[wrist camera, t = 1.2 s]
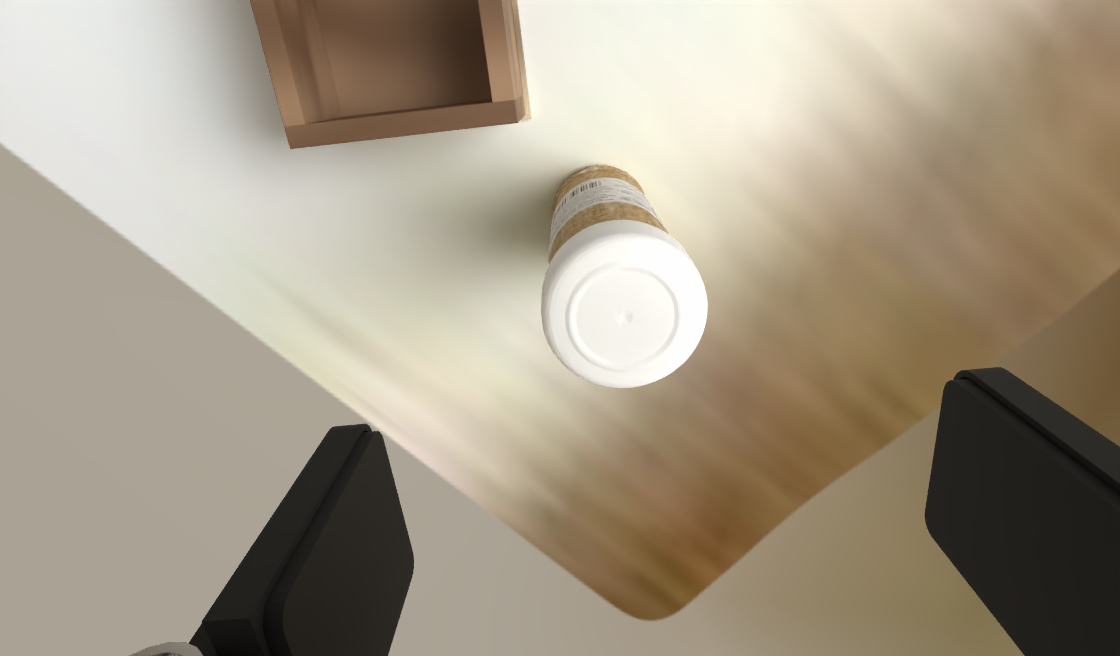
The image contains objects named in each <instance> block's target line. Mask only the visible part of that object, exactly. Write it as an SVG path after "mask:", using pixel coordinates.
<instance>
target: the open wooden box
mask: <svg viewBox="0 0 1120 656" xmlns="http://www.w3.org/2000/svg"><path fill="white" fill-rule="evenodd" d="M250 2H251V6H252V9H253V13H254V17H255V20H256V24H257V28H258V31H259V35H260V39H261V42H262V46H263V50H264V53H265V57H266V61H267V65H268V68H269V72H270V76H271V79H272V83H273V87H274V90H275V94H276V98H277V101H278V105H279V109H280V112H281V116H282V120H283V123H284V127H285V131H286V134H287V138H288V142H289V145H290V149H294V148H303V147H312V146H320V145H329V144H338V143H347V142H355V141H364V140H373V139H381V138H390V137H399V136H407V135H416V134H425V133H434V132H442V131H451V130H460V129H468V128H477V127H486V126H495V125H503V124H512V123H518V122H519V121H520V120H525V119H531V113H530V104H529V96H528V88H527V80H526V71H525V63H524V55H523V47H522V38H521V30H520V22H519V14H518V5H517V0H250Z"/></svg>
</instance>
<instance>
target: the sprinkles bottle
mask: <svg viewBox="0 0 1120 656" xmlns="http://www.w3.org/2000/svg"><path fill="white" fill-rule="evenodd" d="M548 263H549V267H548V269H547V272H546V274H545V278H544V282H543V288H542V303H541V315H542V325H543V330H544V334H545V336H546V339H547V341H548V344H549V346H550V347H551V349H552V351H553V353H554V354H555V355H556V357H557V358H558V359H559V360H560V362H561V363H562V364H563V365H564V366H565V367H566V368H567V369H569V370H570V371H571V372H573V373H574V374H575V375H577V376H579V377H581V378H582V379H585V380H587V381H589V382H591V383H594V384H597V385H601V386H606V387H613V388H631V387H638V386H642V385H646V384H649V383H652V382H655V381H657V380H659V379H661V378H664V377H665V376H667V375H669V374H670V373H672V372H673V371H674V370H676V369H677V368H678V367H679V366H681V365H682V364H683V363H684V362H685V361H686V360H687V359H688V357H689V356H690V355H691V354H692V352H693V351H694V349H695V348H696V346H697V344H698V343H699V341H700V339H701V336H702V334H703V331H704V327H705V324H706V318H707V296H706V291H705V287H704V284H703V281H702V279H701V276H700V274H699V272H698V270H697V268H696V267H695V265H694V263H693V262H692V260H691V258H690V257H689V255H688V254H687V252H686V251H685V250H684V248H683V247H682V246H681V245H680V244H679V243H678V242H677V241H676V240H675V239H674V238H673V237H671V236H670V235H669V233H668V232H667V230H666V228H665V227H664V225H663V224H662V222H661V221H660V219H659V217H658V216H657V214H656V213H655V211H654V209H653V208H652V206H651V205H650V203H649V201H648V200H647V198H646V197H645V196H644V193H643V190H642V188H641V186H640V185H639V184H638V182H637V181H636V180H635V179H634V178H633V177H632V176H631V175H629V174H628V173H627V172H625V171H622V170H620V169H618V168H615V167H611V166H591V167H587V168H585V169H583V170H580V171H578V172H577V173H575V174H574V175H572V176H570V177H569V178H568V179H567V180H566V181H565V182H564V184H563V185H562V186H561V187H560V189H559V191H558V192H557V194H556V198H555V201H554V204H553V206H552V225H551V234H550V243H549V254H548Z"/></svg>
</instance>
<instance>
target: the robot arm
mask: <svg viewBox="0 0 1120 656" xmlns="http://www.w3.org/2000/svg"><path fill="white" fill-rule="evenodd" d="M925 522H926V525H927V528H928V530H929V533H930V534H931V536H932V538H933V539H934V540H935V541H936V543H937V544H938V545H939V547H940V548H941V549H942V551H943V552H944V553H945V554H946V556H947V557H948V558H949V559H950V561H951V562H952V563H953V565H954V566H955V567H956V568H957V570H958V571H959V572H960V574H961V575H962V576H963V577H964V578H965V580H966V581H967V582H968V584H969V585H970V586H971V588H972V589H973V590H974V591H975V592H976V594H977V595H978V597H979V598H980V599H981V600H982V602H983V603H984V604H985V605H986V607H987V608H988V609H989V611H990V612H991V613H992V614H993V616H994V617H995V618H996V619H997V621H998V622H999V623H1000V625H1001V626H1002V627H1003V628H1004V630H1005V631H1006V632H1007V634H1008V635H1009V636H1010V637H1011V639H1012V640H1013V641H1014V643H1015V644H1016V645H1017V646H1018V648H1019V649H1020V650H1021V651H1022V653H1023V654H1024V655H1025V656H1120V447H1119V446H1118V445H1116V444H1115V443H1113V442H1112V441H1110V440H1109V439H1107V438H1106V437H1104V436H1103V435H1101V434H1100V433H1099V432H1097V431H1095V430H1094V429H1093V428H1091V427H1090V426H1088V425H1087V424H1085V423H1084V422H1082V421H1081V420H1079V419H1078V418H1076V417H1075V416H1074V415H1072V414H1070V413H1069V412H1067V411H1066V410H1065V409H1063V408H1062V407H1060V406H1059V405H1057V404H1056V403H1054V402H1053V401H1051V400H1050V399H1049V398H1047V397H1046V396H1044V395H1043V394H1041V393H1039V392H1038V391H1037V390H1035V389H1034V388H1032V387H1031V386H1029V385H1028V384H1026V383H1025V382H1024V381H1022V380H1021V379H1019V378H1017V377H1016V376H1014V375H1013V374H1012V373H1010V372H1009V371H1007V370H1005V369H1003V368H1001V367H995V368H984V369H972V370H961V371H960V372H958V373H957V374H956V376H955V377H954V380H950V381H948V382H947V383H946V385H945V387H944V390H943V397H942V403H941V410H940V417H939V423H938V430H937V437H936V443H935V449H934V456H933V463H932V469H931V475H930V482H929V489H928V495H927V502H926V508H925ZM413 569H414V556H413V551H412V547H411V543H410V539H409V535H408V531H407V528H406V524H405V520H404V516H403V512H402V508H401V505H400V501H399V497H398V493H397V489H396V486H395V482H394V478H393V474H392V470H391V466H390V463H389V459H388V455H387V451H386V447H385V443H384V440H383V437H382V435H381V433H380V432H379V431H374V432H372V430H371V428H370V427H369V425H367V424H357V425H347V426H335V427H332V428H331V429H330V430H329V431H328V433H327V434H326V436H325V437H324V439H323V440H322V442H321V443H320V445H319V446H318V448H317V449H316V451H315V452H314V454H313V455H312V457H311V458H310V460H309V461H308V463H307V464H306V466H305V467H304V469H303V470H302V472H301V473H300V475H299V476H298V478H297V479H296V481H295V482H294V484H293V485H292V487H291V489H290V490H289V491H288V493H287V494H286V496H285V497H284V499H283V500H282V502H281V503H280V505H279V506H278V508H277V509H276V511H275V512H274V514H273V515H272V517H271V518H270V520H269V521H268V523H267V524H266V526H265V527H264V529H263V530H262V532H261V533H260V535H259V536H258V538H257V539H256V541H255V542H254V544H253V545H252V547H251V548H250V550H249V551H248V553H247V554H246V556H245V557H244V559H243V560H242V562H241V563H240V565H239V566H238V568H237V569H236V571H235V572H234V574H233V575H232V577H231V578H230V580H229V581H228V583H227V584H226V586H225V587H224V589H223V590H222V592H221V593H220V595H219V596H218V598H217V599H216V601H215V602H214V604H213V605H212V607H211V608H210V610H209V611H208V613H207V614H206V616H205V617H204V619H203V620H202V624H201V626H200V627H199V628H198V630H197V632H196V633H195V635H194V636H193V637H192V639H191V641H190V642H189V643H186V642H167V643H163V644H159V645H155V646H151V647H148V648H146V649H143V650H141V651H139V652H137V653H134V654H132V655H130V656H388V653H389V650H390V647H391V643H392V640H393V637H394V634H395V631H396V627H397V624H398V621H399V618H400V614H401V611H402V608H403V605H404V602H405V598H406V595H407V592H408V589H409V585H410V582H411V579H412V575H413Z"/></svg>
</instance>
